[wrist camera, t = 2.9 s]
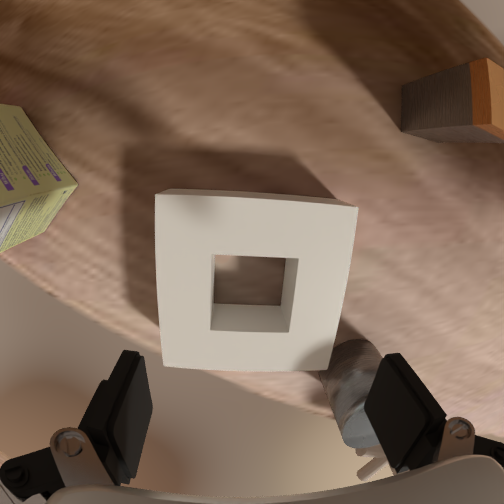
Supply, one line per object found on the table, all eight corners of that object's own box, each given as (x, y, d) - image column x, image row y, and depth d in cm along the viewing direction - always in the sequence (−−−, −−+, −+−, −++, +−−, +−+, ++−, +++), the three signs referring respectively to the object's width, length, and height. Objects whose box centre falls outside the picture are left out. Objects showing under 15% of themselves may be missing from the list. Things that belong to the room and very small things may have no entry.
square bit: (438, 99, 19) (524, 84, 9) (438, 142, 20) (527, 144, 10) (401, 85, 18) (486, 57, 9) (400, 131, 20) (491, 124, 10)
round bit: (384, 337, 25) (425, 391, 17) (368, 385, 27) (398, 440, 19) (325, 340, 24) (356, 403, 17) (313, 390, 26) (334, 453, 18)
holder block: (337, 199, 21) (358, 207, 17) (315, 341, 24) (327, 369, 20) (169, 188, 20) (155, 194, 16) (172, 336, 23) (163, 366, 20)
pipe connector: (321, 441, 29) (341, 508, 19) (377, 384, 27) (416, 453, 17) (376, 448, 31) (400, 503, 21) (427, 399, 28) (463, 453, 19)
